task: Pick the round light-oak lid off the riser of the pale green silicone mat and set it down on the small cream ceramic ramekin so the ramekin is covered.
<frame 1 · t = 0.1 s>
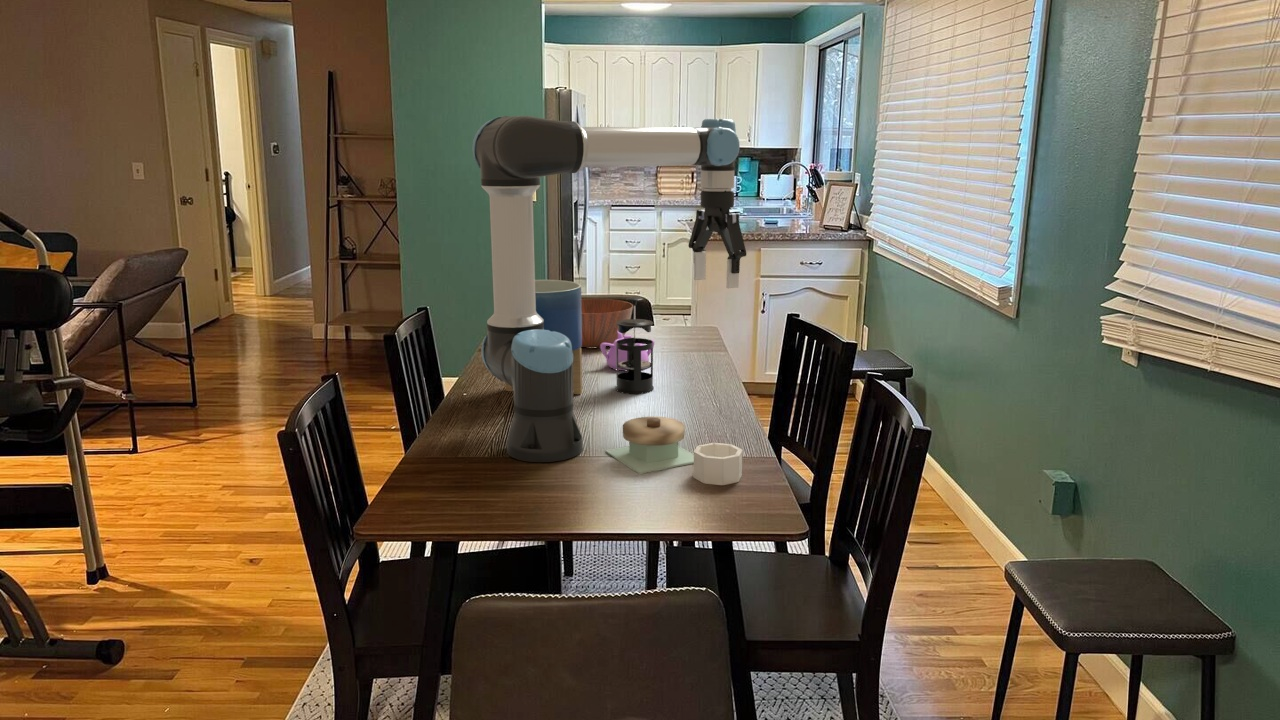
hand: (715, 283, 213), 28 cm above the table, fingers open, 13 cm apart
teapot: (627, 368, 251), on the table
mat stand: (653, 456, 181), on the table
lid: (653, 435, 180), point 4 cm above the table, touching mat stand
french press: (634, 389, 230), on the table
ramekin: (717, 476, 171), on the table
bowl: (592, 343, 281), on the table
planter: (543, 392, 227), on the table
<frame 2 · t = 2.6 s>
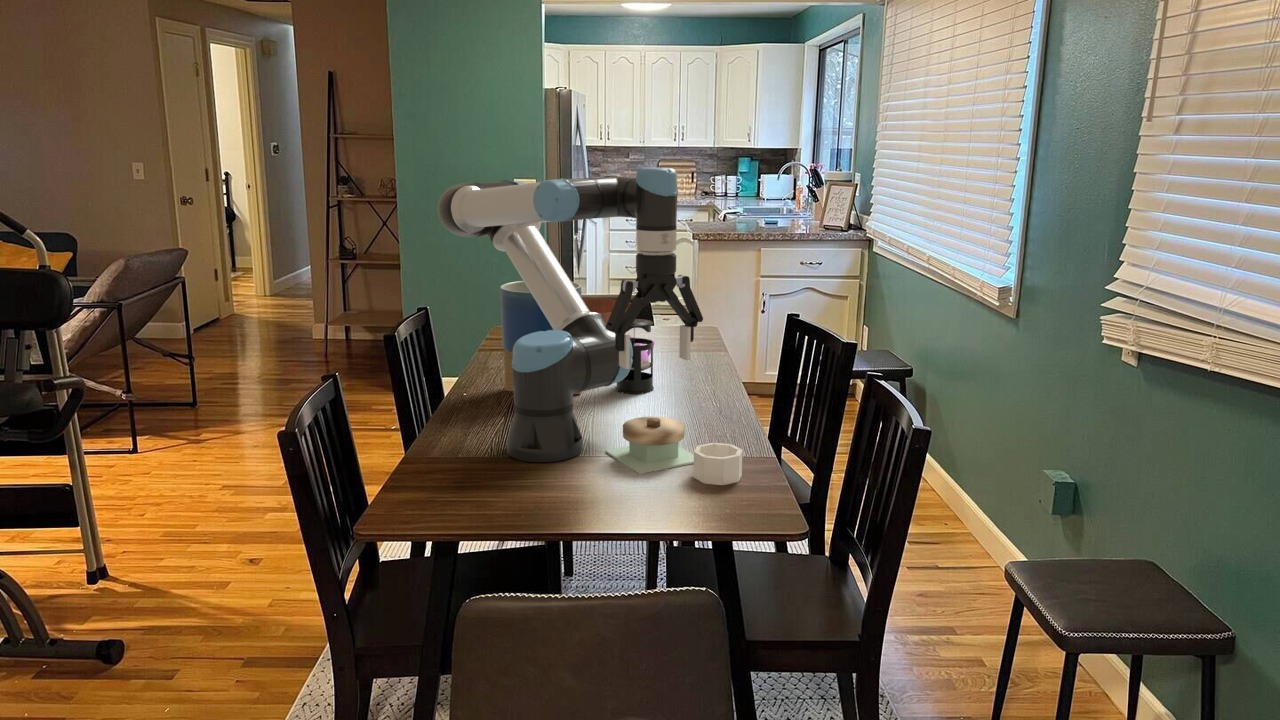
hand: (655, 363, 177), 19 cm above the table, fingers open, 13 cm apart
nothing on the table moved.
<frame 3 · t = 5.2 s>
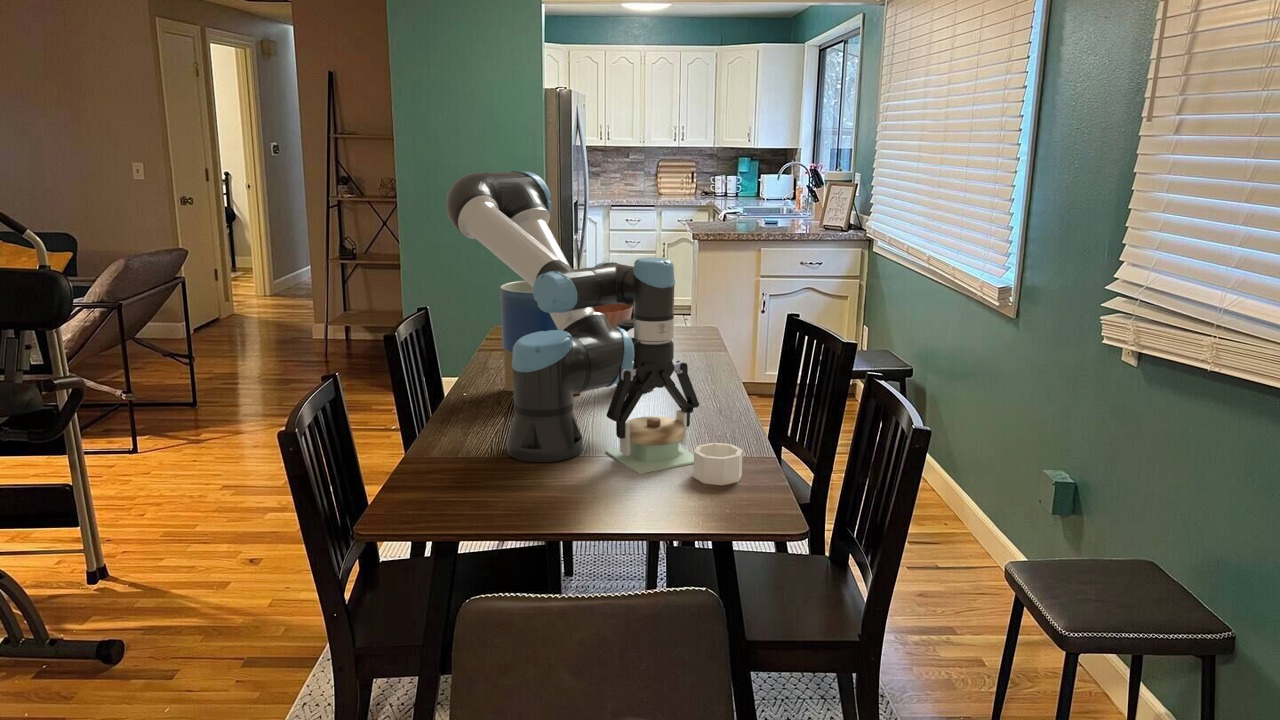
hand: (653, 448, 181), 2 cm above the table, fingers closed on lid, 12 cm apart
lid: (653, 435, 180), point 4 cm above the table, touching gripper, mat stand
everything else where it was.
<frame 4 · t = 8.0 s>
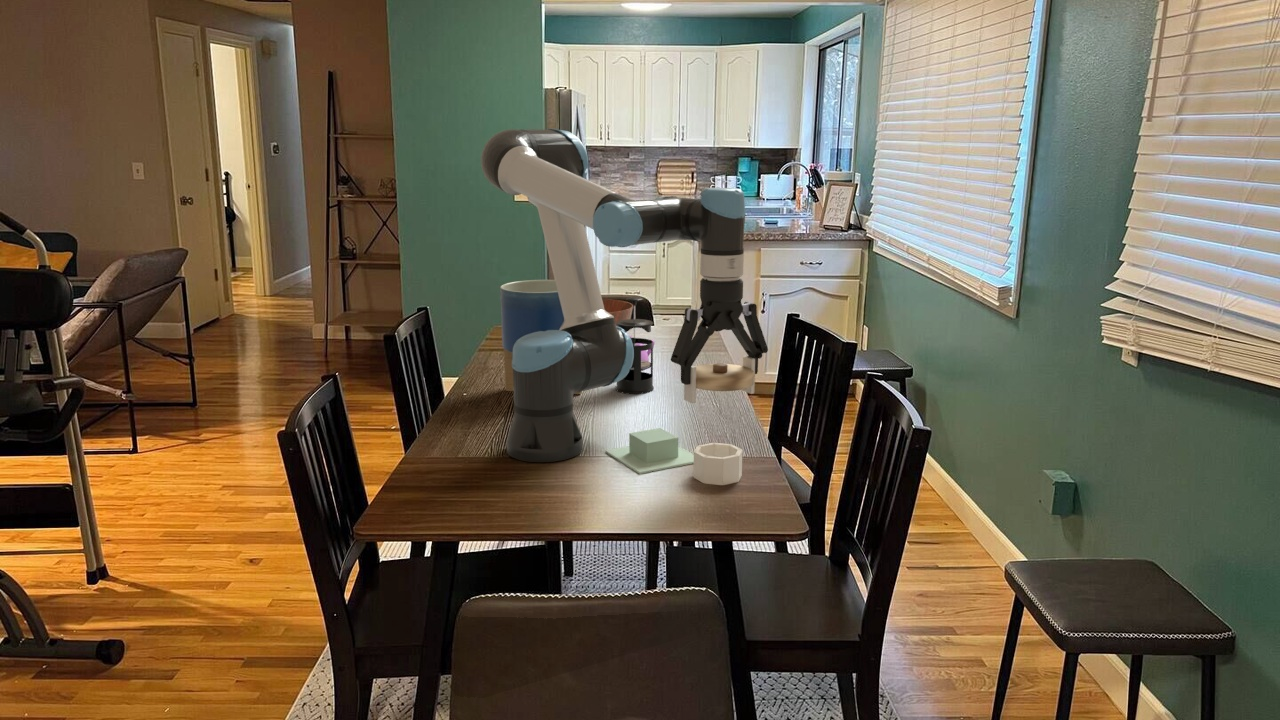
hand: (719, 396, 167), 15 cm above the table, fingers closed on lid, 12 cm apart
lid: (719, 382, 167), point 18 cm above the table, touching gripper
everything else where it was.
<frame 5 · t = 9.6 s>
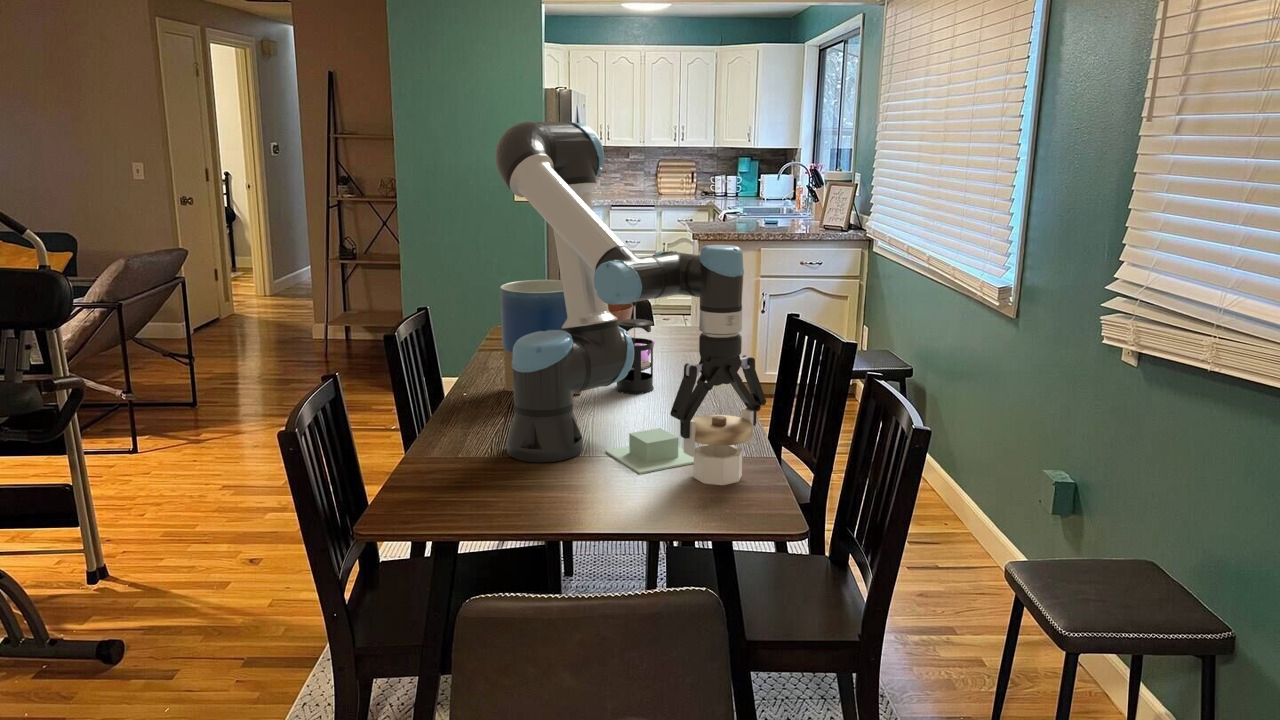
hand: (718, 448, 169), 5 cm above the table, fingers closed on lid, 12 cm apart
lid: (718, 434, 169), point 8 cm above the table, touching gripper
everything else where it was.
when the fingers open (5 cm above the table, at t = 10.8 s): lid drops 2 cm, resting on ramekin.
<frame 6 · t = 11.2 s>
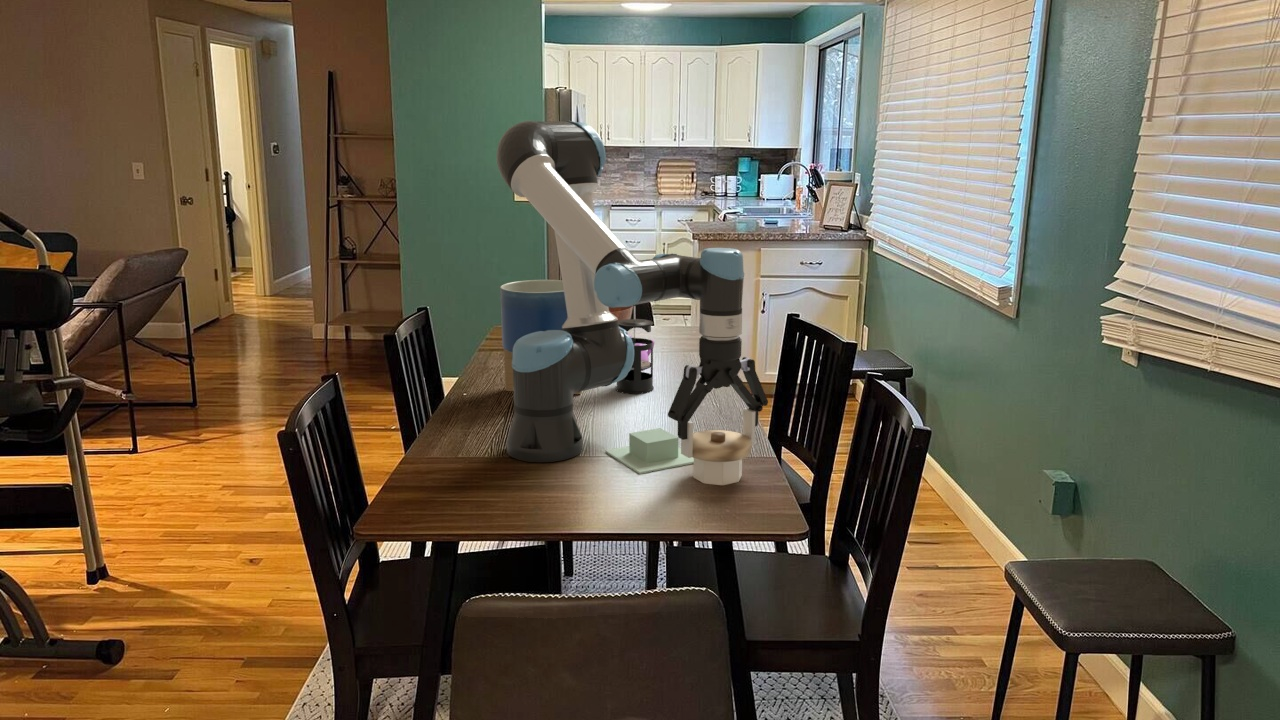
hand: (718, 449, 170), 5 cm above the table, fingers open, 13 cm apart
lid: (717, 450, 170), point 5 cm above the table, touching ramekin
everything else where it was.
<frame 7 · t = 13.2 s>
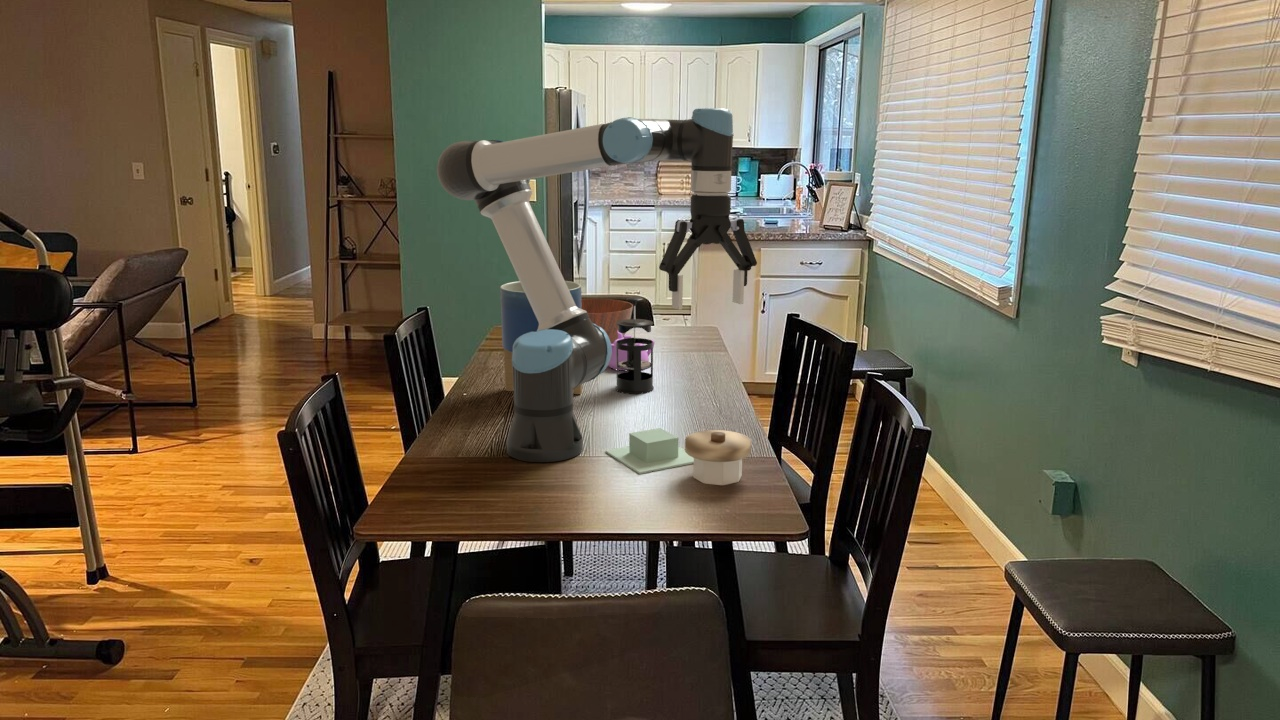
hand: (707, 305, 178), 29 cm above the table, fingers open, 13 cm apart
nothing on the table moved.
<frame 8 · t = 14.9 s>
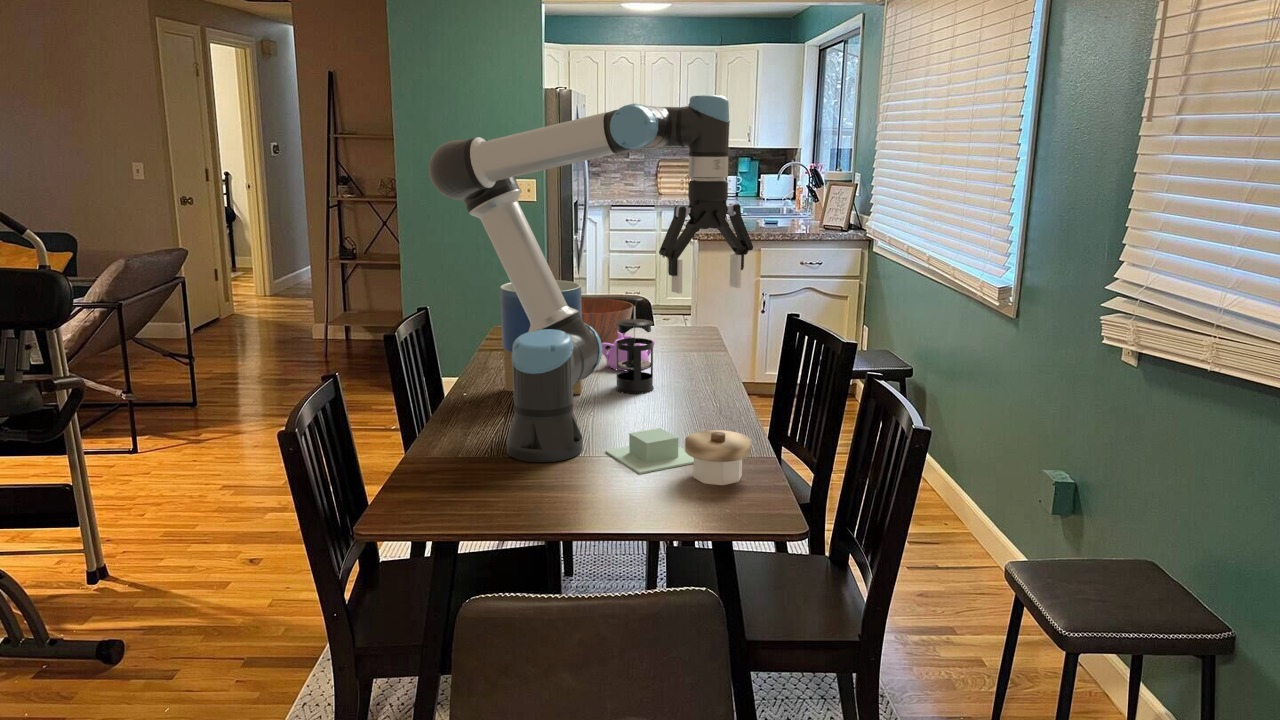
hand: (706, 289, 182), 32 cm above the table, fingers open, 13 cm apart
nothing on the table moved.
at the end: lid 0.1 cm off-centre on the ramekin, point 5.0 cm above the ramekin's base; lid tilted 0°; the gripper is holding nothing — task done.
